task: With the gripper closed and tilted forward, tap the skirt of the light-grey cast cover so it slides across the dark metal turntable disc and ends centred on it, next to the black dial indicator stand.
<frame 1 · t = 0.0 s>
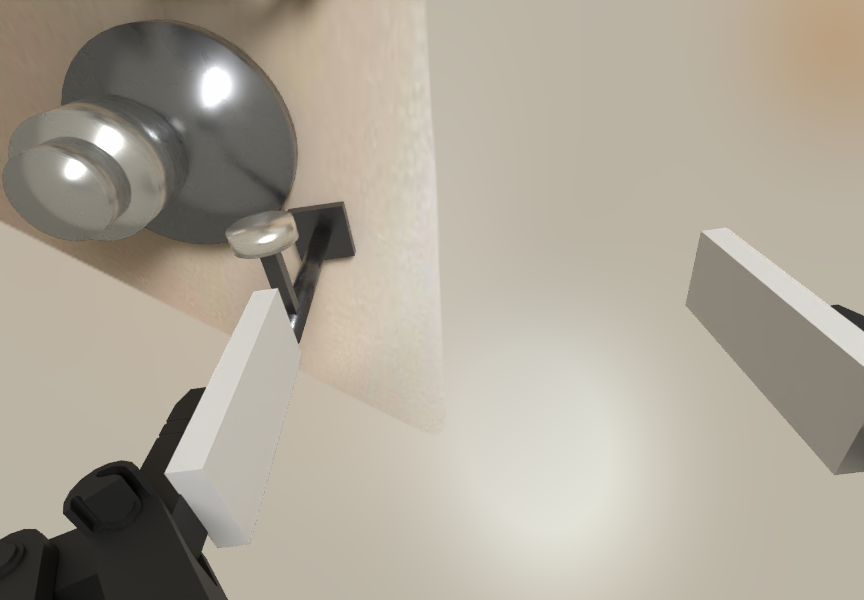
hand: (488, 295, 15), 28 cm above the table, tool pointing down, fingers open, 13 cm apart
dial stand: (323, 230, 44), on the table
cast cover: (126, 155, 37), point 2 cm above the table, touching turntable
turntable: (191, 140, 39), on the table
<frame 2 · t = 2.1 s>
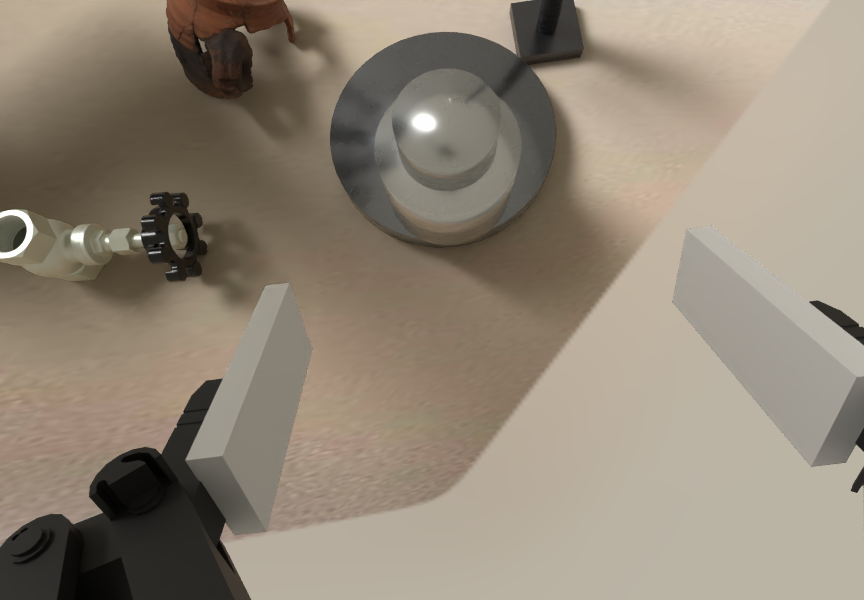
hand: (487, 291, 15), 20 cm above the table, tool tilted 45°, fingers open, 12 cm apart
dial stand: (544, 34, 39), on the table
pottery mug: (245, 63, 40), on the table
valve: (135, 257, 38), on the table
cast cover: (449, 186, 35), point 2 cm above the table, touching turntable
turntable: (442, 144, 38), on the table
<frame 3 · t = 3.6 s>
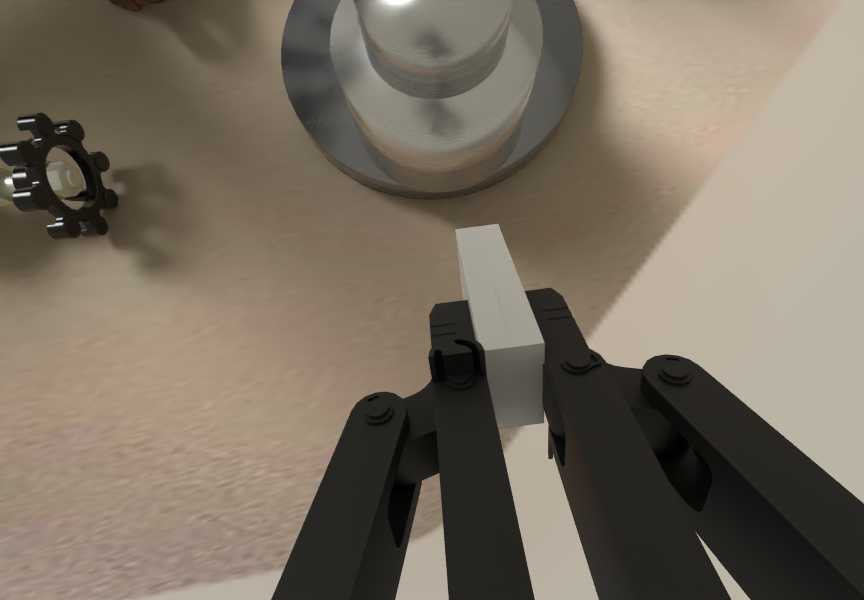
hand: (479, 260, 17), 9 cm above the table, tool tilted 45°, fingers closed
valve: (24, 215, 29), on the table
cast cover: (439, 114, 26), point 2 cm above the table, touching turntable
turntable: (431, 66, 29), on the table
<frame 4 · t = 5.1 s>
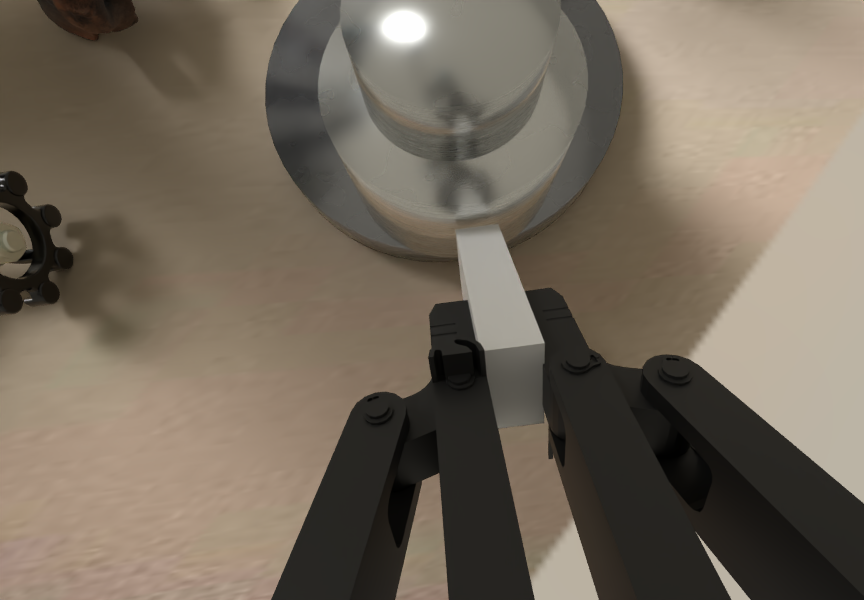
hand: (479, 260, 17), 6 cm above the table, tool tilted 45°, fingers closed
cast cover: (453, 162, 22), point 2 cm above the table, touching gripper, turntable
turntable: (441, 103, 25), on the table
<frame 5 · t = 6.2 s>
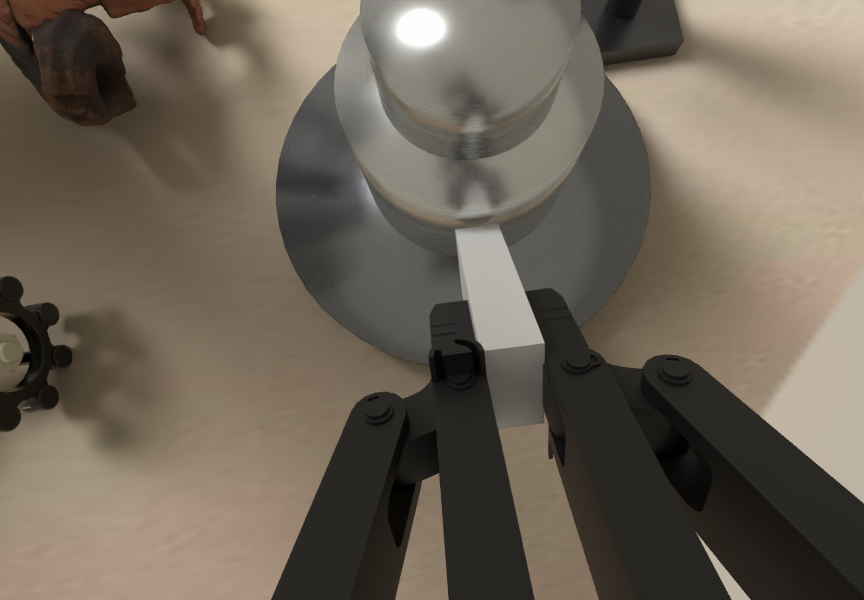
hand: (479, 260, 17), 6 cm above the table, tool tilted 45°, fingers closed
dial stand: (616, 20, 25), on the table
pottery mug: (131, 68, 26), on the table
cast cover: (464, 161, 22), point 2 cm above the table, touching gripper
turntable: (459, 195, 24), on the table
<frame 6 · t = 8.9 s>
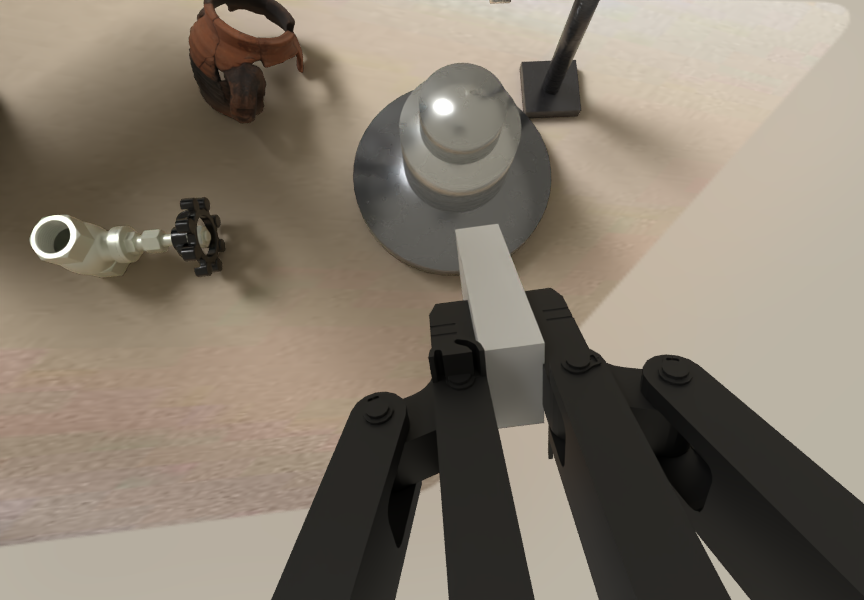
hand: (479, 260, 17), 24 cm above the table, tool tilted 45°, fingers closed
dial stand: (548, 92, 44), on the table
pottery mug: (256, 86, 44), on the table
valve: (158, 254, 42), on the table
cast cover: (455, 162, 41), point 2 cm above the table, touching turntable
turntable: (451, 182, 43), on the table
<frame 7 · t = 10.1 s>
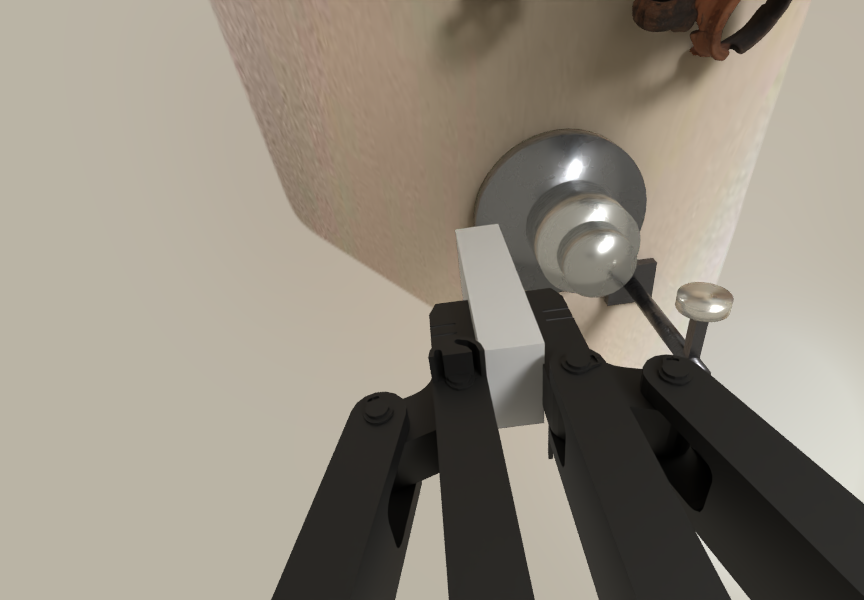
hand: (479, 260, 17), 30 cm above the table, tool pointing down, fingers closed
dial stand: (628, 280, 54), on the table
cast cover: (570, 223, 48), point 2 cm above the table, touching turntable
turntable: (555, 213, 49), on the table
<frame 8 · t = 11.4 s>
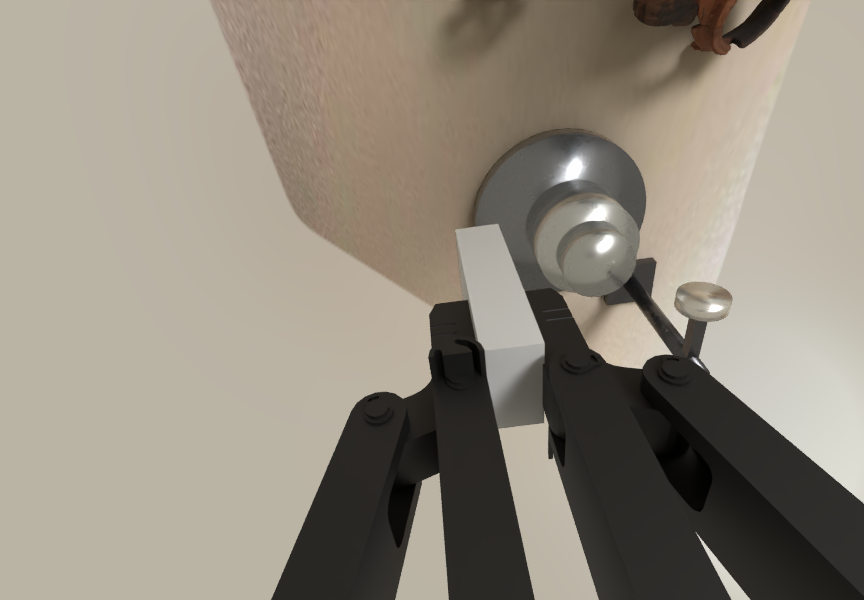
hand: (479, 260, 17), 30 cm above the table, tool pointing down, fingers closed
dial stand: (627, 279, 54), on the table
cast cover: (569, 222, 48), point 2 cm above the table, touching turntable
turntable: (555, 213, 49), on the table
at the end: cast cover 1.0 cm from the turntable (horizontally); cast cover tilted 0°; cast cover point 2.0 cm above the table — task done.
